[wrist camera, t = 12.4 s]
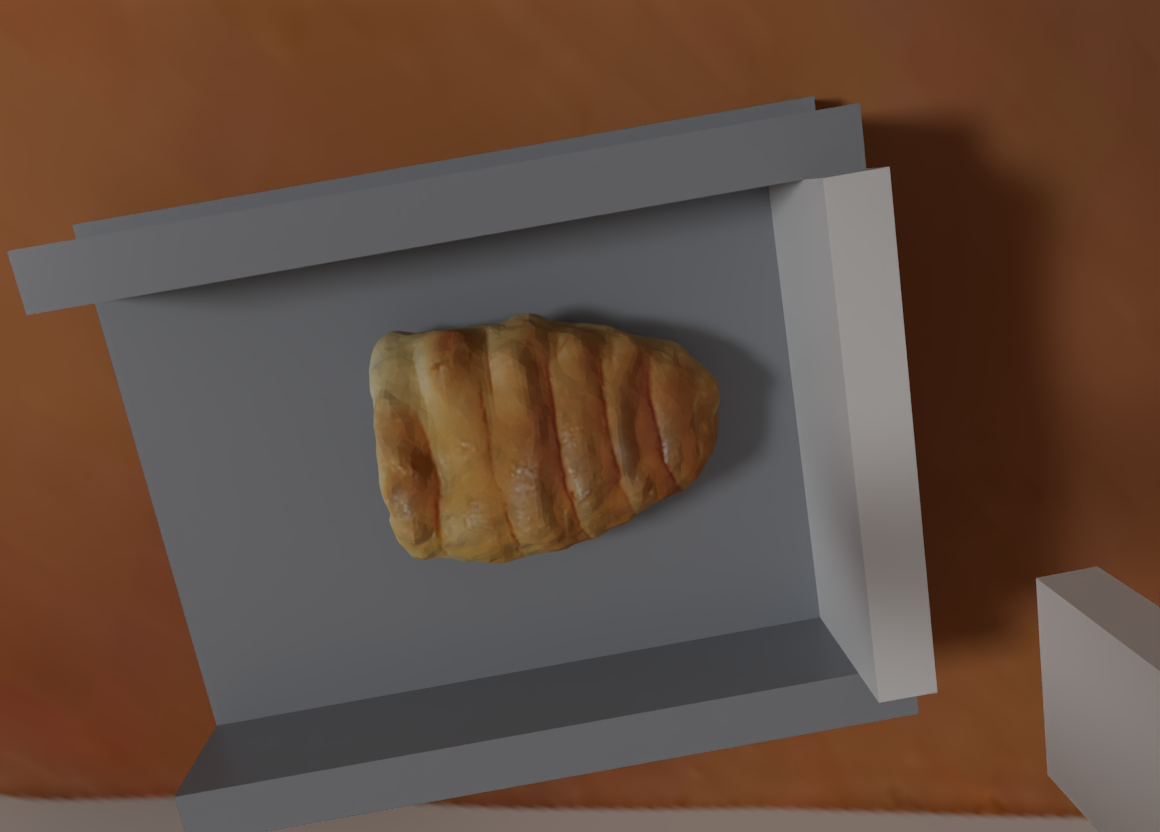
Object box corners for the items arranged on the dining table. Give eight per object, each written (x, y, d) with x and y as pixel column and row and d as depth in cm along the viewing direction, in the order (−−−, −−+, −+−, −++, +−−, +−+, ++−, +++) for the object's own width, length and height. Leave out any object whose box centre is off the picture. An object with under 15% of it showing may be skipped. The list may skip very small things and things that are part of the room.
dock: (243, 764, 30) (173, 901, 24) (89, 223, 26) (-38, 231, 20) (864, 652, 30) (943, 761, 24) (803, 99, 26) (880, 72, 20)
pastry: (697, 280, 26) (724, 296, 23) (723, 509, 28) (753, 558, 24) (361, 330, 26) (333, 354, 22) (406, 557, 28) (387, 614, 24)
